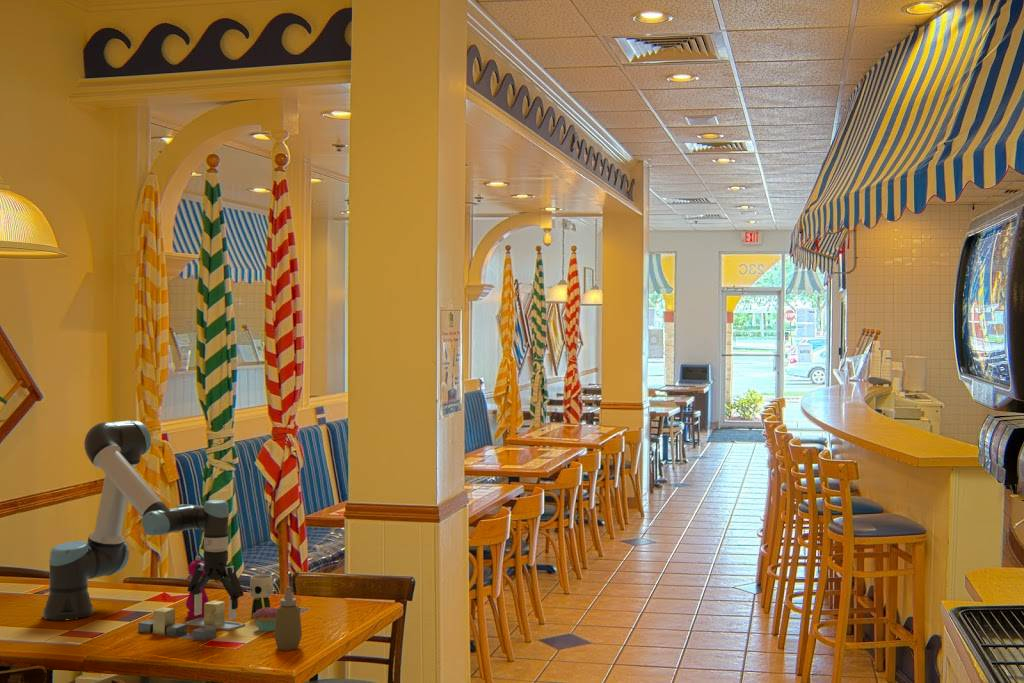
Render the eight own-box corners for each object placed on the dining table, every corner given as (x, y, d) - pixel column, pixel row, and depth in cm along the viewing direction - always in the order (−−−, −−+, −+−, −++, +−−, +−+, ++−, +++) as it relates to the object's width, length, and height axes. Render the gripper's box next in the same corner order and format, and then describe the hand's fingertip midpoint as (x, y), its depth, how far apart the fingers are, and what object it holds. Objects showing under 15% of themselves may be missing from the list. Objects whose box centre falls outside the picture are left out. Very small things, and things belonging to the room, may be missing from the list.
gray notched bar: (138, 632, 328) (138, 622, 328) (149, 628, 333) (149, 619, 333) (204, 642, 317) (205, 632, 317) (216, 638, 322) (216, 628, 322)
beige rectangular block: (213, 622, 339) (213, 600, 339) (224, 623, 337) (225, 601, 338) (204, 625, 335) (204, 603, 335) (215, 627, 333) (215, 604, 333)
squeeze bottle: (275, 644, 316) (276, 584, 316) (303, 644, 316) (304, 583, 316) (271, 652, 307) (272, 589, 308) (300, 651, 308) (300, 589, 308)
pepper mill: (202, 620, 344) (202, 558, 344) (181, 618, 345) (182, 557, 346) (212, 615, 351) (213, 554, 351) (192, 613, 352) (193, 553, 353)
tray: (184, 625, 337) (184, 622, 337) (199, 620, 343) (199, 617, 343) (230, 631, 330) (230, 628, 330) (244, 626, 336) (244, 623, 336)
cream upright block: (153, 633, 326) (153, 610, 326) (163, 629, 330) (163, 607, 330) (164, 634, 324) (164, 611, 324) (174, 631, 328) (175, 608, 328)
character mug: (241, 615, 350) (242, 576, 351) (258, 611, 356) (259, 572, 356) (263, 620, 344) (264, 580, 344) (280, 616, 350) (281, 577, 350)
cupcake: (256, 635, 326) (257, 596, 326) (250, 628, 334) (250, 590, 334) (284, 632, 330) (284, 593, 330) (277, 625, 338) (277, 588, 338)
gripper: (176, 548, 339) (175, 615, 338) (240, 554, 328) (239, 623, 328) (192, 544, 345) (191, 610, 345) (255, 551, 335) (254, 618, 335)
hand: (214, 616), depth 337 cm, fingers open, 13 cm apart
